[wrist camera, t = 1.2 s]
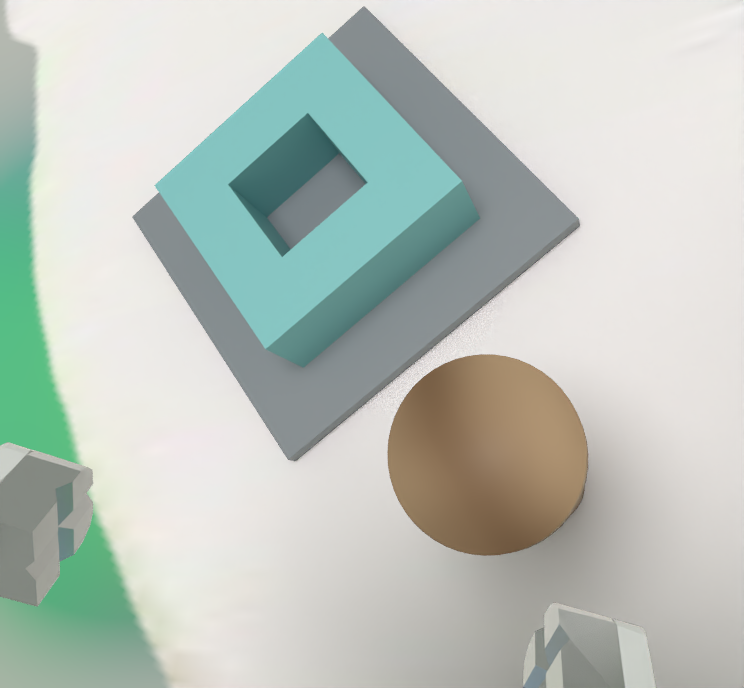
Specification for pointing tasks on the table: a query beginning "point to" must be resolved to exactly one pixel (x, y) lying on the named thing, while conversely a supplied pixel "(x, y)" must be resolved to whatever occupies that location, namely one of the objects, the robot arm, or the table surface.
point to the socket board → (415, 302)
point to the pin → (487, 455)
